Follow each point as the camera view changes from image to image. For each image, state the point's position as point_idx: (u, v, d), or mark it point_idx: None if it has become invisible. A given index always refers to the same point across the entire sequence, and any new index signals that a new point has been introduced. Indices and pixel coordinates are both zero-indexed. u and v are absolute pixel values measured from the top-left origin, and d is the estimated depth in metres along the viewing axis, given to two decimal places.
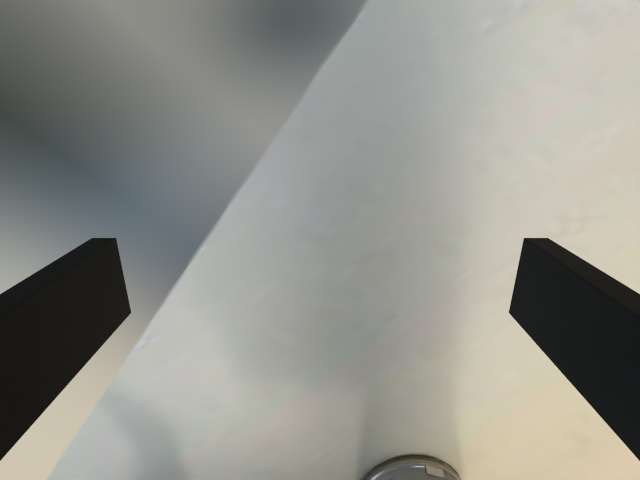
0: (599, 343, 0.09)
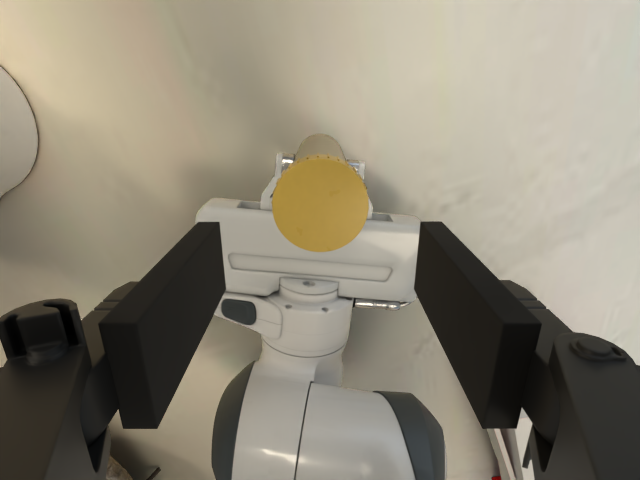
0: (451, 306, 0.10)
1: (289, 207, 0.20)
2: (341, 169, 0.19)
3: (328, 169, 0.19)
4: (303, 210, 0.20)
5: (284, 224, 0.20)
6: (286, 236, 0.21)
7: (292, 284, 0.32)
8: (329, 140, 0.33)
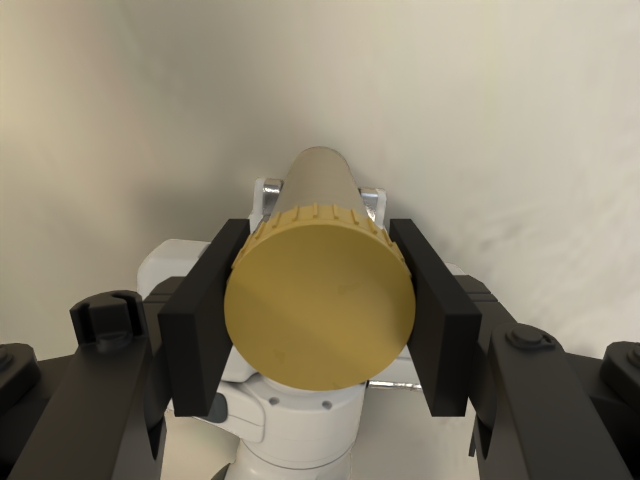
0: None
1: (258, 314, 0.10)
2: (363, 244, 0.09)
3: (336, 244, 0.09)
4: (286, 320, 0.10)
5: (249, 344, 0.10)
6: (254, 365, 0.11)
7: None
8: (333, 158, 0.23)
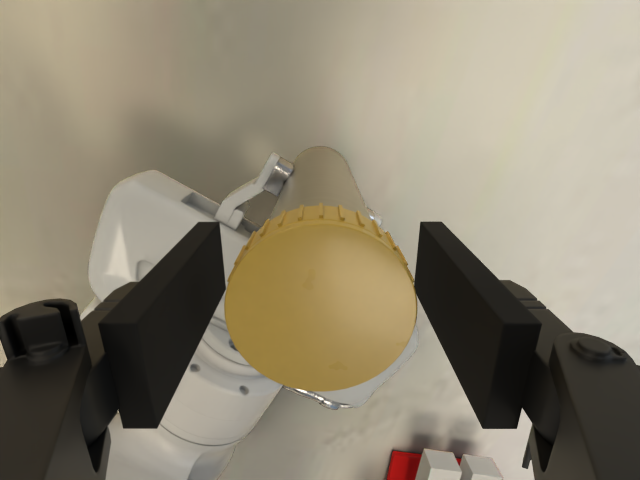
0: (451, 306, 0.10)
1: (288, 358, 0.11)
2: (275, 245, 0.09)
3: (262, 266, 0.10)
4: (307, 341, 0.10)
5: (311, 380, 0.11)
6: (333, 388, 0.11)
7: (213, 338, 0.22)
8: (346, 167, 0.23)
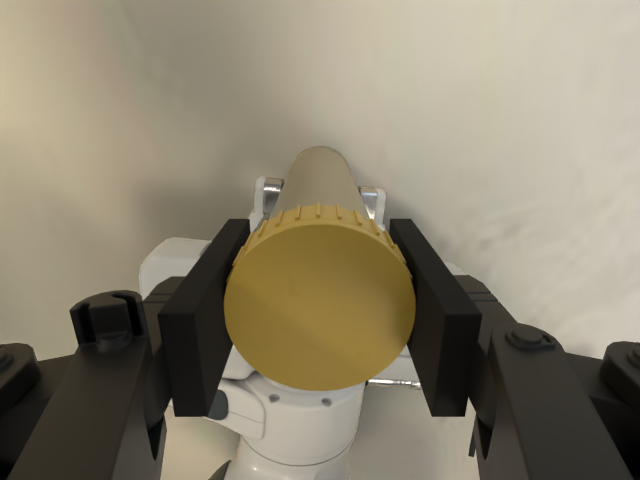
0: None
1: (311, 364, 0.11)
2: (246, 269, 0.10)
3: (244, 292, 0.10)
4: (321, 343, 0.10)
5: (343, 377, 0.11)
6: (367, 377, 0.11)
7: None
8: (333, 158, 0.23)
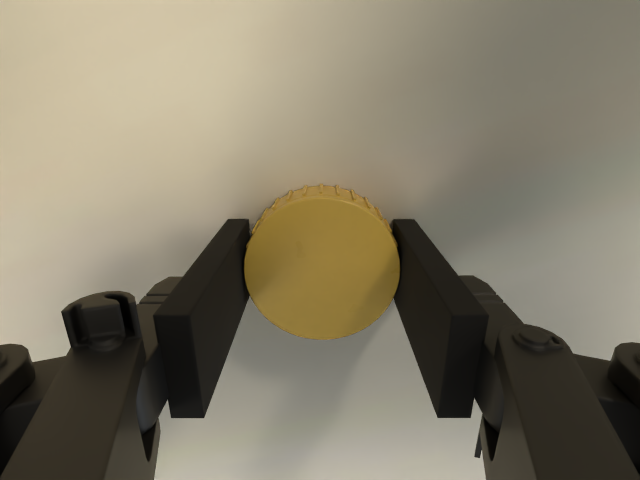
0: (415, 300, 0.11)
1: (314, 316, 0.13)
2: (263, 235, 0.12)
3: (261, 254, 0.12)
4: (322, 298, 0.13)
5: (340, 327, 0.13)
6: (360, 327, 0.13)
7: None
8: None
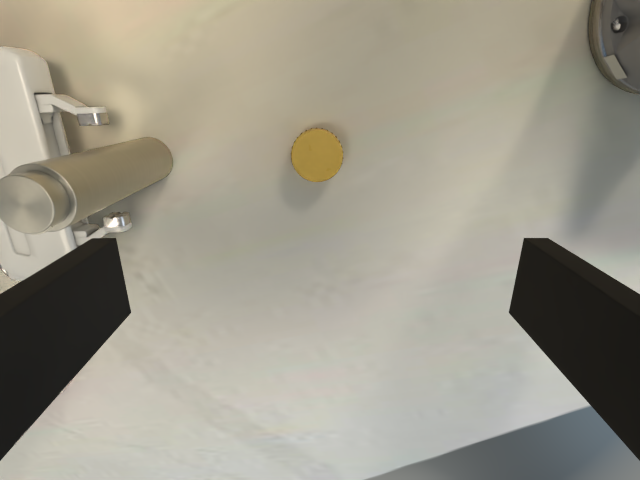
0: (599, 343, 0.09)
1: (314, 172, 0.39)
2: (298, 142, 0.37)
3: (297, 149, 0.38)
4: (317, 165, 0.38)
5: (323, 176, 0.39)
6: (330, 176, 0.39)
7: None
8: (154, 172, 0.35)
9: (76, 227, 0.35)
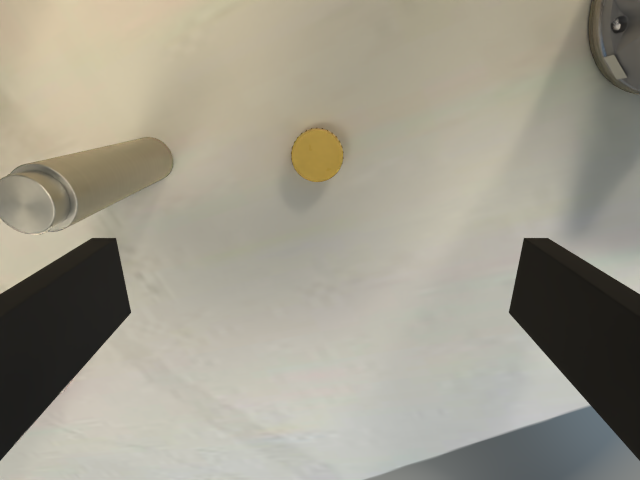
0: (599, 343, 0.09)
1: (314, 172, 0.39)
2: (298, 142, 0.37)
3: (297, 149, 0.38)
4: (317, 165, 0.38)
5: (323, 176, 0.39)
6: (330, 176, 0.39)
7: None
8: (154, 172, 0.35)
9: None
